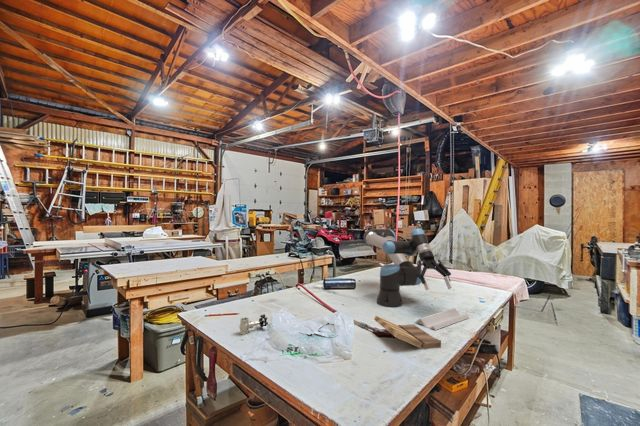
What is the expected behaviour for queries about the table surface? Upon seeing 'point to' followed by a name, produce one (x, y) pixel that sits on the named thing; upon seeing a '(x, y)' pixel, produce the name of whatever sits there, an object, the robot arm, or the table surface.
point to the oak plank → (398, 331)
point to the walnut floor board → (421, 336)
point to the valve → (251, 324)
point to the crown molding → (442, 319)
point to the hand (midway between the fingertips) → (439, 288)
